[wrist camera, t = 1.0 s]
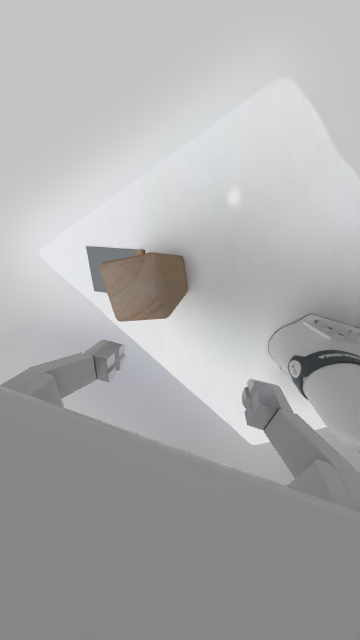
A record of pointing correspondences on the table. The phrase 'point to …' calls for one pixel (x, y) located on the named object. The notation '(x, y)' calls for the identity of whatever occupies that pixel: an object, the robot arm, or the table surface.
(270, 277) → the table surface
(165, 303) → the wooden block
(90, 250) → the mat
